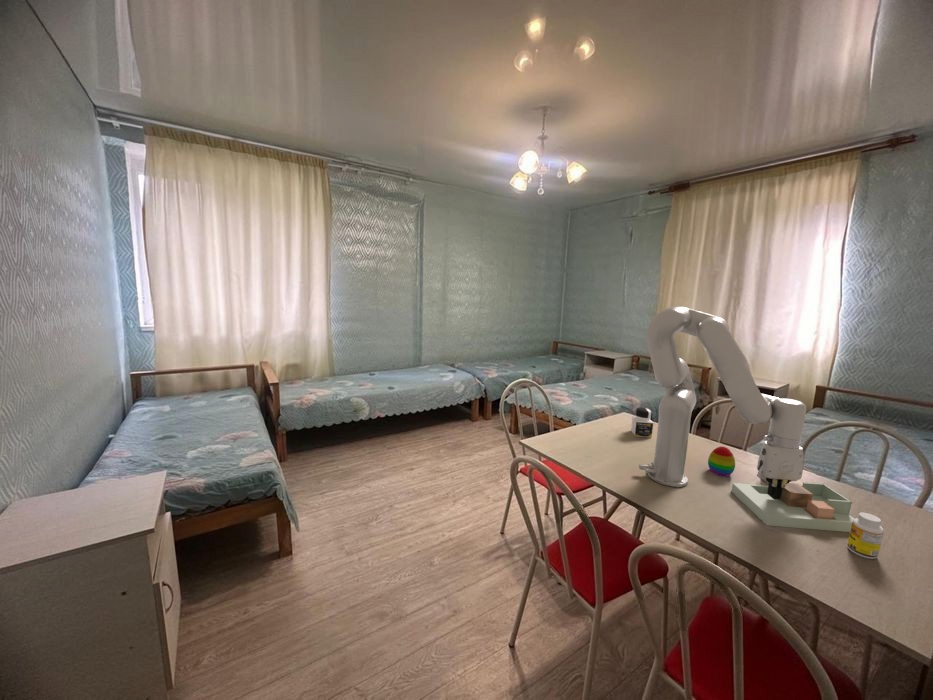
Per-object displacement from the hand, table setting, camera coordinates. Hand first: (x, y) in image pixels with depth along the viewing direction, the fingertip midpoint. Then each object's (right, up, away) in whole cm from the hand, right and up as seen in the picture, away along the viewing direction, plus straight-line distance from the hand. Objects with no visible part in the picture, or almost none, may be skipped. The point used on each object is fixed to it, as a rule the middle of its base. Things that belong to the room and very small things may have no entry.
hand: (773, 497), depth 117 cm
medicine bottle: (-15, +6, +57) cm, 59 cm away
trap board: (+5, -4, 0) cm, 7 cm away
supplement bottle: (+9, -8, -18) cm, 21 cm away
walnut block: (+5, -1, 0) cm, 5 cm away
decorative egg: (-1, 0, +23) cm, 23 cm away
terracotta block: (+8, -5, -6) cm, 11 cm away
